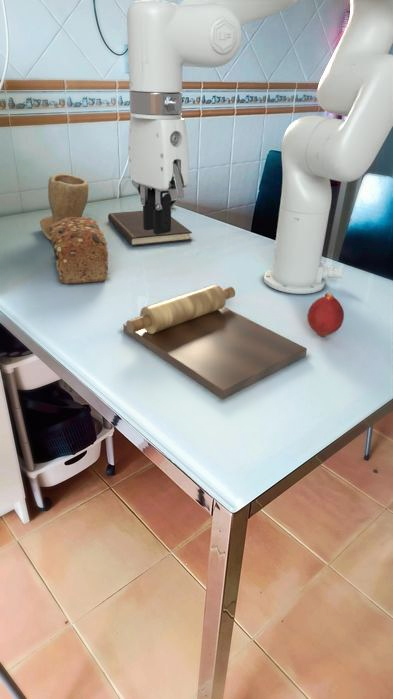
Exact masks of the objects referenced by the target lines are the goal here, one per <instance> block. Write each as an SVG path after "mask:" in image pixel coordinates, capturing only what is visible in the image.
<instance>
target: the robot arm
mask: <svg viewBox="0 0 393 699" xmlns="http://www.w3.org/2000/svg"><path fill="white" fill-rule="evenodd" d="M297 1H298V0H181V1H180V2H179V3H178V4H177V3H174V2H171V1H167V0H136V1H133V2H132V3H131V4H130V5H129V6H128V8H127V12H126V28H127V31H126V32H127V33H126V34H127V58H128V83H129V84H128V86H129V114H130V117H129V118H130V119H129V128H128V131H129V132H128V171H129V177H130V179H131V184H132V186H133V187H134V188H135V189H136V190H137V192H138V194H139V197H140V198H139V199H140V204H141V206H142V211H143V228H144V230H147V231H148V230H152V229H153V232H154V234H156V235H158V234H163V233H167V232H170V231H171V217H172V209H173V208H174V206H175V203H176V202H177V201H179V200H181V199H184V198H185V191H184V189H185V188H187V187H188V186H189V183H190V161H189V160H190V159H189V142H188V133H187V132H188V131H187V126H186V121H185V118H182V116H183V115H182V112H183V67H186V68H187V67H189V68H190V67H191V68H205V69H206V68H207V69H208V68H209V69H213V68H214V69H215V68H220V67H222V66H225V65H227V64H228V63H229V62H231V61H232V60H233V59H234V58H235V57H236V55H237V54H238V52H239V50H240V48H241V45H242V39H243V31H242V26H244V25H246V24H248V23H251V22H252V23H253V22H254V21H258V20H261V19H265V18H268V17H271V16H274V15H276V14H278V13H280V12H282V11H285V10H286V9H289V8H290V7H292V6H293V5H294V4H296V3H297ZM349 3H350V7H349V8H350V10H349V11H350V12H349V17H348V22H347V24H346V26H345V29H344V31H343V33H342V35H341V38H340V40H339V41H338V43H337V45H336V48H335V49H334V52H333V54H332V56H331V57H330V60H329V61H328V64H327V66H326V67H325V69H324V72H323V74H322V76H321V78H320V80H319V83H318V86H317V90H316V100H317V101H316V102H317V104H318V105H319V106H320V108H321V109H322V110H324V111H325V112H327V113H329V114H333V115H337V116H341V117H346V119H340V118H335V117H327V116H322V115H305V116H302V117H299V118H297V119H295V120H294V121H293V122H292V123H290V125H289V126H288V127H287V129H286V130H285V132H284V135H283V137H282V143H281V166H282V167H281V168H282V182H281V183H282V184H281V194H280V195H281V196H280V204H279V211H278V219H277V228H276V235H275V236H276V237H275V244H274V252H273V260H272V261H273V262H272V268H270V269H268V270H266V271H265V272H264V275H263V281H264V284H266V285H267V286H268V287H270V288H271V289H273V290H276V291H279V292H283V293H287V294H295V295H307V294H313V293H318V292H320V291H321V290H322V289H323V288H325V284H326V280H327V278H332V279H342V278H343V275H344V271H343V268H335V267H334V265H329V264H327V265H324V264H323V263H322V257H323V250H324V246H325V245H324V244H325V239H326V233H327V228H328V222H329V216H330V211H331V205H332V197H333V196H332V186H331V180H332V181H337V182H341V183H351V182H354V181H357V180H358V179H359V178H361V177H363V175H365V173H366V172H367V171H368V170H369V168H370V167H371V166H372V164H373V163H374V161H375V159H376V157H377V155H378V154H379V152H380V150H381V148H382V146H383V145H384V143H385V141H386V140H387V137H388V136H389V134H390V133H391V130H392V128H393V54H391V53H389V52H390V50H391V48H392V47H393V0H349ZM163 194H164V195H163Z"/></svg>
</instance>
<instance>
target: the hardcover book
mask: <svg viewBox="0 0 393 699" xmlns="http://www.w3.org/2000/svg"><path fill="white" fill-rule="evenodd" d="M107 219H108V220H107V221H108V222H110V223H111V224H112V225H113V226H114V228H115V229H116V230H117V231H118V232H119V233H120V234H121V235H122V237H124V239H125V240H126V241H127V242H128V243H129V244H130V245H131V246H132V247H141V246H150V245H151V246H152V245H161V244H171V243H178V242H179V243H180V242H182V243H183V242H191V241H192V239H191V234H192V231H191V230H190V229H188V228H187V227H186V226H184V225H183V224H182V223H180V222H179V221H178V220H177V219H175V218H174V217H172V216H171V231H170V232H167V233H163V234H158V235H156V234H154V232H153V229H152V230H148V231H147V230H144V228H143V210H136V211H122V212H121V211H120V212H109V213H108V215H107Z"/></svg>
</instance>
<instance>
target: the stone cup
mask: <svg viewBox="0 0 393 699" xmlns="http://www.w3.org/2000/svg"><path fill="white" fill-rule="evenodd" d="M47 183H48V184H47V197H48V204H49V207H50V210H51V215H50V216H46V217H44V218H42V219H40V221H39V225H40V229H41V230H42V233H43V235H44V236H45V237H46V238H47V239H48V240H50V241H52V240H51V236H50V235H51V234H50V226H51V225H52V224H55V223H56V222H58V221H59V220H60V219H61V218H67V217H83V216H84V211H85V209H86V206H87V203H88V199H89V184H88V181H87V180H86V179H84V178H82V177H79V176H75V175H72V174H66V173H55V174H52V175H51V176H49V179H48V181H47Z"/></svg>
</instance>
